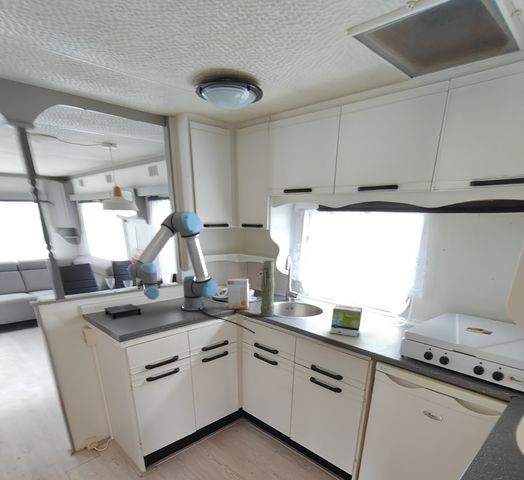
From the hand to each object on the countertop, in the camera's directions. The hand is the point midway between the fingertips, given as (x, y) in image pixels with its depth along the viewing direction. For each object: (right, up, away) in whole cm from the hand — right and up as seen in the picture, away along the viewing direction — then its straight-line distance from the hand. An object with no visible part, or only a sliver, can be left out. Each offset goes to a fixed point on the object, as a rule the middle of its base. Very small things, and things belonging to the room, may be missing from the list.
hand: (147, 281), depth 214 cm
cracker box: (+59, -16, +18) cm, 64 cm away
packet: (+2, -8, -2) cm, 9 cm away
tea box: (+124, -35, -28) cm, 131 cm away
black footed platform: (-16, -21, +1) cm, 27 cm away
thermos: (+79, -22, +4) cm, 82 cm away
